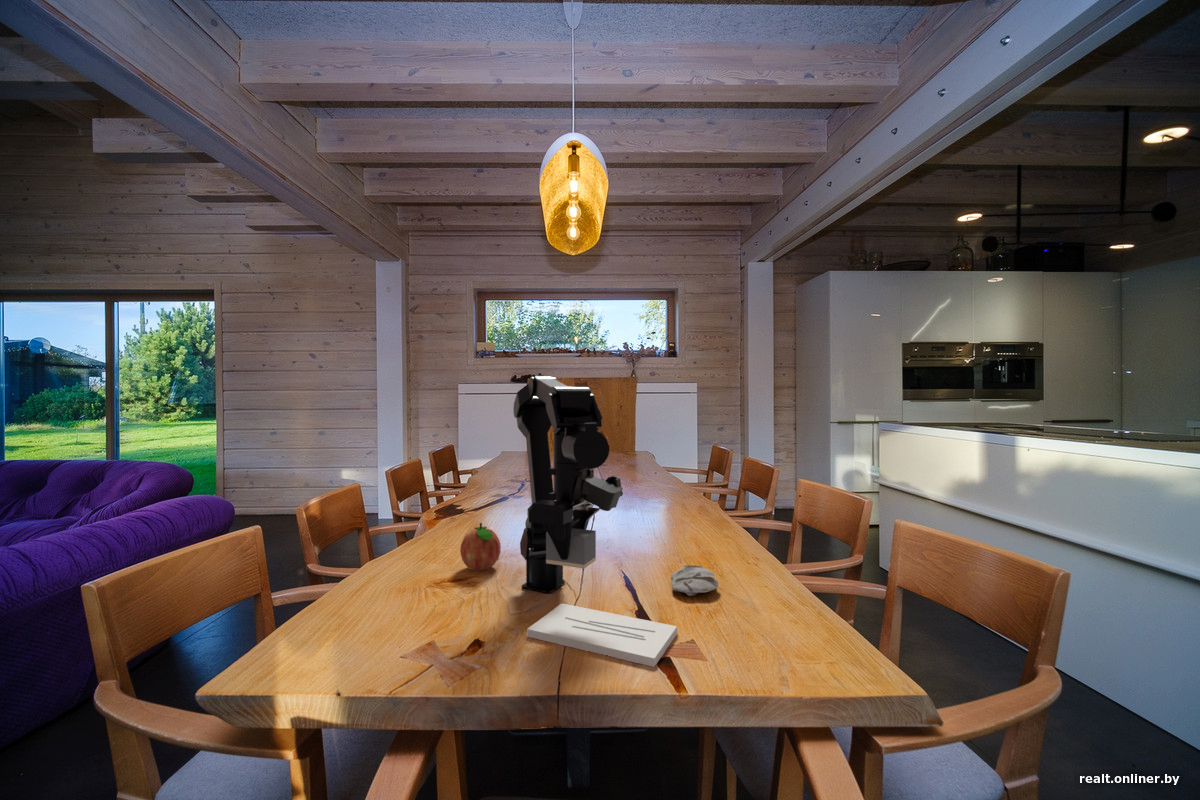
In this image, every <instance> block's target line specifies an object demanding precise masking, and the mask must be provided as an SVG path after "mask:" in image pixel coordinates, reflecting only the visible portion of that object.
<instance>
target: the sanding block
mask: <svg viewBox="0 0 1200 800" xmlns="http://www.w3.org/2000/svg"><path fill="white" fill-rule="evenodd" d="M596 532H597V530H594V529H593V530H592V529H586V530H584V529H575V528H572V529H571V538H570V548H569V555H568V559H567V560H562V559H561V558H560V556H559V554H558V552H557V550H556V548H555V546H554V544H553V542H552V540H551V538H550V536H549V534H548V532H547V533H546V563H548V564H555V565H562V566H563V567H570V568H571V567H572V568H579V569H583V570H584V569H586V568H587V567H589V566H590V565H592V564H593V563H594V562H596V559H597V558H596V556H597V553H596V551H597V548H596V547H597V545H596V542H597V534H596Z"/></svg>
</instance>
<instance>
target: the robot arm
mask: <svg viewBox="0 0 1200 800" xmlns="http://www.w3.org/2000/svg"><path fill="white" fill-rule="evenodd" d="M513 416H514V418H516V425H517V428H518V429H519V431H520V432H521V434H522V435H523V437H524V438H525V440H526V451H527V462H528V463H527V464H528V473H529V475H528V476H529V485H530V487H529V488H530V495H531V497H530V499H531V504H530V506H529V507H528V508H527V517H526V520H525V527H524V529H523V533H522V535H521V539H520V543H519V546H520V547H519V548H520V556H522V558H523V559H524V561H525V562H526V563H525V565H526V566H525V568H526V570H525V572H526V573H525V575H526V577H525V579H526V581H525V583H523V584H522V585H521V589H525V590H531V591H536V592H539V593H540V592H541V593H546V594H551V593H552V592H554V591H555V590H556V589H558V588H560V587H561V586H563V585H564V584H565V583H566V580H565V579H564V566H562V565H555V564H548V563H546V533H547V532H548V534H549V536H550V538H551V540H552V542H553V544H554V546H555V548H556V550H557V552H558V554H559V556H560V558H561V559H562V560H567V559H568V555H569V548H570V538H571V529H572V528H575V529H584V530H588V525H589V522H590V519H591V518H593V516H595V514H597V513H598V512H599V511H600V510H602V511H604V512H610V511H611V510H612V509H616V508H617V506H618V503H619V499H620V498H621V497H622V496H623V495H624V492H623V487H622V484H621V483H622V482H621V478H620V477H618V476H616V475H614V474H613V475H612V474H611V476H608V477H607V478H606V479H604V478H598V477H596V476H595V475H594V473H595V472H594V469H597V468H599V467H601V466H602V465H604V463H606V461H607V459H608V457H609V455H610V445H609V442H608V440H607V438H606V436H605V435H604V434H603V433H601V432H599V431H598V428H602V426H603V424H602V419H603V415H602V413H601V411H600V408H599V406H598V404H597V400H596V397H595V395H594V394H593V393H592V390H591V389H590V388H589V387H588V386H568V385H566V384H565V383H562V382H560V381H559V380H557V378H556V377H553V376H552V375H551V376H550V375H549V376H548V375H546V376H545V375H534V376H530V378H529V380H528V382H527V384H525V386H524V387H522V388H521V389H520V390H517V393H516V395H515V398H514V402H513ZM551 427H552V428H553V430H552V432H553V467H552V462H551V455H550V444H549V443H550V442H549V432H550V429H551ZM593 506H597V507H593Z"/></svg>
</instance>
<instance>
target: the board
mask: <svg viewBox="0 0 1200 800" xmlns="http://www.w3.org/2000/svg"><path fill="white" fill-rule="evenodd" d="M526 635H527V638H530V639H531V638H532V639H534V640H535V639H536V640H540V641H545V642H549V643H552V644H557V645H559V646H560V645H561V646H564V647H569V648H572V649H577V650H582V651H586V652H589V651H590V652H591V653H594V654H599V655H602V654H603V655H602V656H606V655H608V656H607V657H610V656H611V658H614V657H615V659H620V660H623V661H628V662H632V663H636V664H640V665H645V666H647V667H653V668H655V667H656V666H657V664H658V662H659V661H660V659H661V658H662V656H664V654H665V653H666V650H667V649H668V648H669V646H670V645H671V643H672V642H673V641H674V640H675V638H676V636H677V635H678V626H676V625H673V624H668V623H663V622H657V621H653V620H648V619H642V618H637V617H633V616H628V615H623V614H617V613H612V612H608V611H602V610H597V609H593V608H588V607H582V606H577V605H572V604H567V603H561V604H559V605H557V606H556V607H555V608H554V609H552V610H551V611H549V612H548V613H547V614H545V615H544V616H543V617H541V618H540V619H538V621H536V622H535V623H533V624H532V625H530V626H529V627H527V629H526Z"/></svg>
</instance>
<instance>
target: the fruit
mask: <svg viewBox="0 0 1200 800" xmlns="http://www.w3.org/2000/svg"><path fill="white" fill-rule="evenodd" d="M501 545H502V544H501V542H500V538H499V537H498V535H497V534H496V533H495V531H493V530H492V529H491V528H490V529H489V528H488V526H483V523H482V522H480V523H479V526H476V527H474V528H473V529H471V530H470V531H469V532H468V533H466V534H465V536H464V537H463V539H462V541H461V544H460V551H459V552H460V556H461V557H460V558H461V560H462V562H463V564H464V565H465V566H466V567H467V568H468V569H469V570H472V571H486V570H489V569H491V568H492V567H494V566H495V564H496V563H497V562H498V559H499V557H500V556H501Z"/></svg>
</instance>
